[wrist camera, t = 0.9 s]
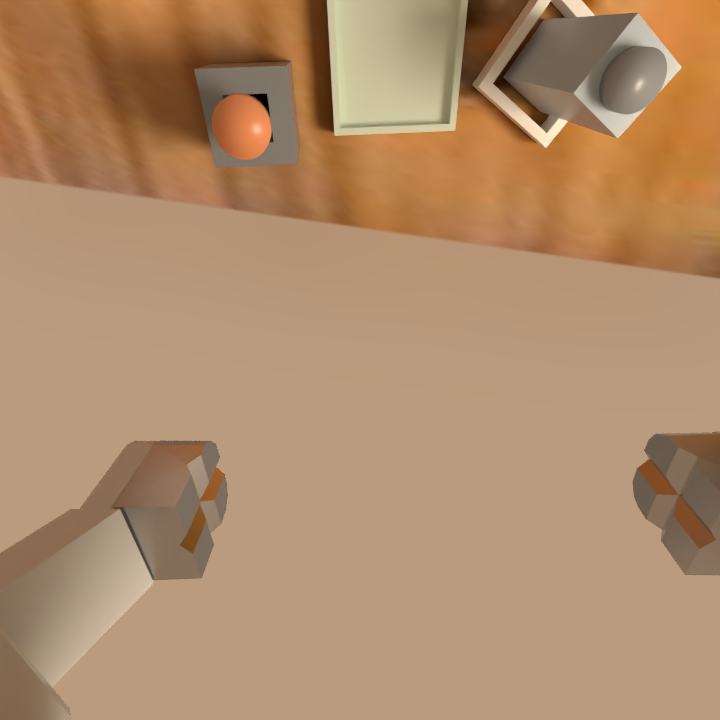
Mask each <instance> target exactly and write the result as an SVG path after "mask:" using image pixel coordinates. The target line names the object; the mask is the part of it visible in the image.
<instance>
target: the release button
mask: <svg viewBox="0 0 720 720" xmlns="http://www.w3.org/2000/svg"><path fill="white" fill-rule="evenodd" d="M212 131H213V134H214V137H215V139H216V141H217V143H218V144H219V146H220V147H221V148H222V149H223V150H224V151H225V152H226V153H227V154H229V155H230V156H232V157H234V158H237V159H241V160H250V159H254V158H256V157H258V156H260V155H261V154H262V153H263V152H264V151H265V149H266V148H267V146H268V144H269V142H270V139H271V135H272V123H271V119H270V116H269V113H268V110H267V107H266V106H265V104H264V103H263V102H262V101H261V100H260V99H258V98H256V97H253V96H250V95H248V94H243V93H236V94H231V95H229V96H227V97H226V98H224V99H223V100H221V101H220V102H219V103H218V105H217V106H216V107H215V109H214V112H213V115H212Z"/></svg>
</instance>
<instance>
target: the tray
mask: <svg viewBox="0 0 720 720" xmlns="http://www.w3.org/2000/svg"><path fill="white" fill-rule="evenodd" d="M467 7H468V0H327V17H328V35H329V52H330V70H331V88H332V106H333V124H334V136H339V135H362V134H386V133H409V132H432V131H455V126H456V116H457V106H458V96H459V87H460V77H461V67H462V57H463V47H464V37H465V27H466V17H467Z"/></svg>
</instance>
